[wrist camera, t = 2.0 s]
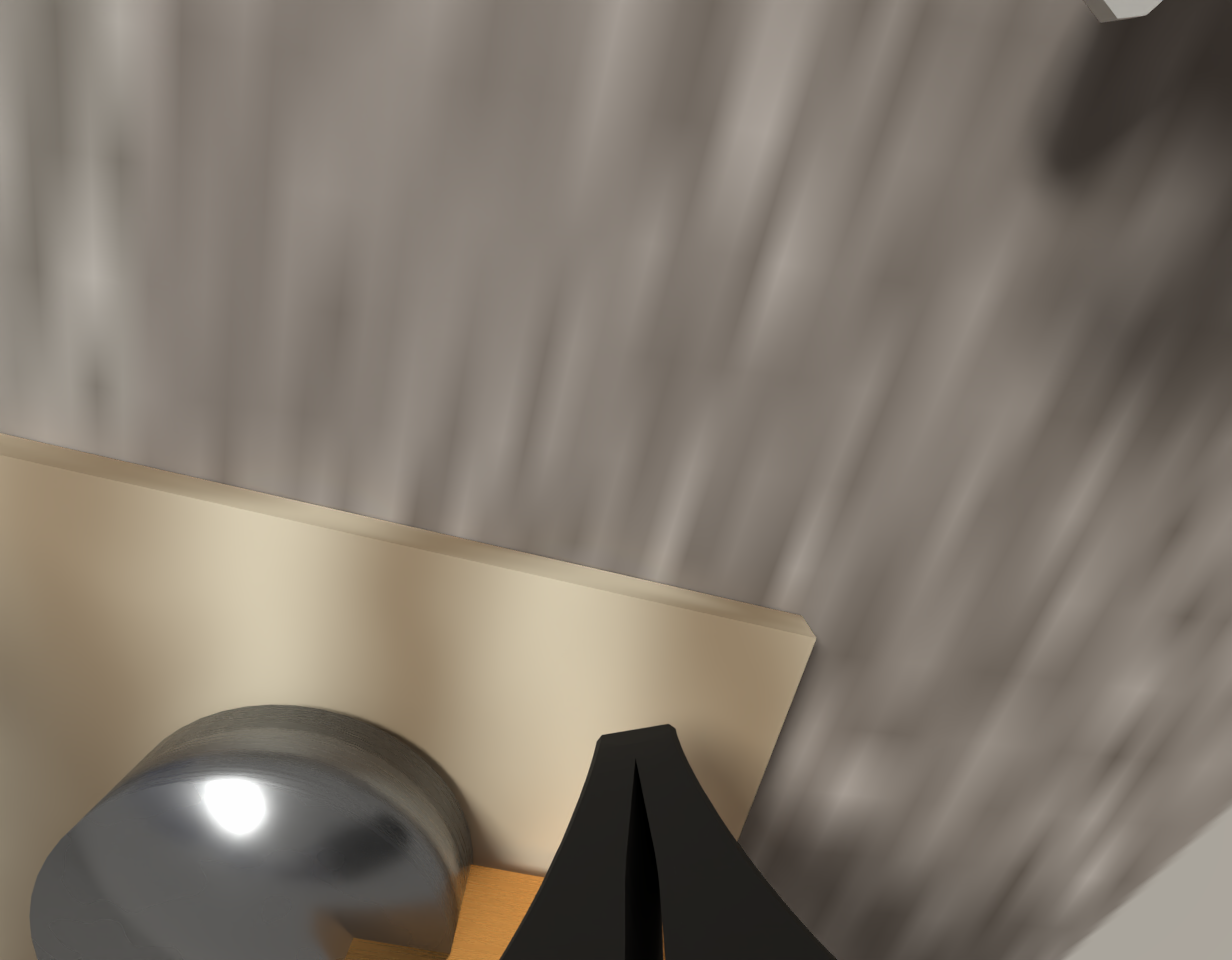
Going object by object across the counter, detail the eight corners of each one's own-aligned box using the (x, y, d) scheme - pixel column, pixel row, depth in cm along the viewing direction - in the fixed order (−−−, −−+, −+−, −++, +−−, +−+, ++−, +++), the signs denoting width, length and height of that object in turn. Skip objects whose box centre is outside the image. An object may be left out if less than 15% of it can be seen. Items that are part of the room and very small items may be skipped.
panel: (-8, 1036, 17) (-44, 1079, 16) (-21, 428, 12) (-74, 438, 11) (610, 1124, 19) (610, 1168, 18) (801, 615, 14) (816, 638, 13)
